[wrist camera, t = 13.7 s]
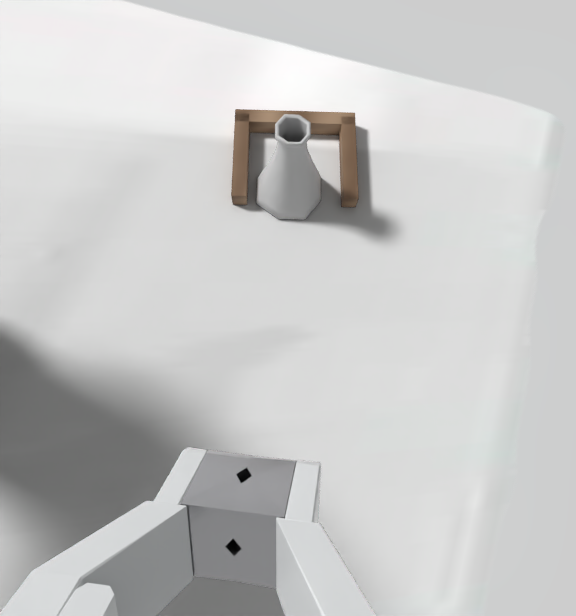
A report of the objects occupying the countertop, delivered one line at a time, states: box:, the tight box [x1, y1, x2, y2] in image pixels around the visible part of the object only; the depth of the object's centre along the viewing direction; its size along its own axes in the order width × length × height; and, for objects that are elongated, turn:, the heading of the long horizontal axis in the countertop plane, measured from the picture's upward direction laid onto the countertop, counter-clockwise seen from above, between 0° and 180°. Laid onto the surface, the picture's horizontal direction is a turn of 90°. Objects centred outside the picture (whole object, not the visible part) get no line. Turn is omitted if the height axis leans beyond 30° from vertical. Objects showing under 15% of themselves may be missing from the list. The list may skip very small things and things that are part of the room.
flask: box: [256, 114, 321, 219], centre depth 42 cm, size 7×7×10 cm
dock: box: [231, 109, 358, 207], centre depth 47 cm, size 13×10×2 cm
